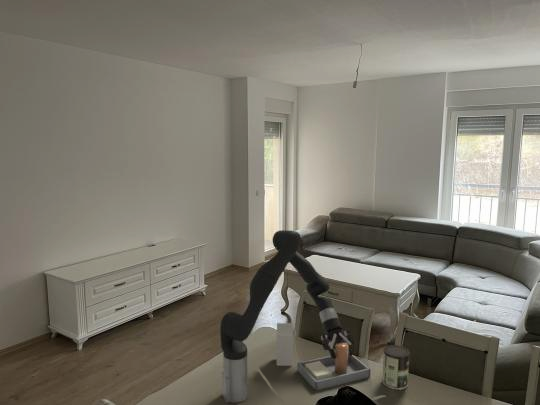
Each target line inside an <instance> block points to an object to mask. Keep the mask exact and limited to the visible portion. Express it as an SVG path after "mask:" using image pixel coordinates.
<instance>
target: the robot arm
mask: <svg viewBox="0 0 540 405" xmlns="http://www.w3.org/2000/svg"><path fill="white" fill-rule="evenodd" d="M301 243H302V237H301V234H300V233H299V232H298V231H295V230H289V229H288V230H283V229H282V230H278V231H276V232H275V233H274V234H273V236H272V245H273V247H274V248H275V249H276V251H277V253H276V254H275V255H274V256H273V257H271V258H270V259H268V261H266V262H265V263H263V264H262V265H261V266H260V267H259V268H258V269H257V271H256V272H255V274H254V276H253V278H252V279H251V281H250V284H249V302H248V304H247V307H246V310H245V311H244V313H243V314H240V313H238V312H234V311H229V312H228V311H227V312H226V313H225V314H224V315H223V317H222V318H221V322H220V328H219V329H220V331H219V332H220V335H219V336H220V347H221V350H222V352H223V353H222V354H223V357H222V360H223V362H222V364H223V366H222V368H223V371H222V372H221V395H222V397H223V399H224V401H225V402H226V403H231V404H234V403H235V404H236V403H241V402H243V401H245V400H247V398H248V347H247V345H246V344H245V343H244V341H246V340H247V339H248V338H249V336H250V335H251V333H252V331H253V329H254V327H255V325H256V323H257V320H258V318H259V316H260V314H261V311H262V309H263V307H264V306H265V304H266V302H267V300H268V298H269V297H270V295H271V293H272V292H273V290H274V288H275V286H276V285H277V283H278V281H279V280H280V277H281V276H282V274H283V272H284V270H286V267H287V266H288V264H289V263H290V264H291V266H293V268H294V269H295V271H297V273H298V275H300V277H301V278H302V280H303V281H304V283H306V292H307V293H308V295H309V296H310V297H311V299H312V300H313V301H314V304H315V305H316V306H315V307H316V308H317V310H318V313H319V314H318V315H319V317H320V321H321V325H322V327H323V330H324V332H325V334H322V335H321V336H320V341H321V344H322V347H323V351H328V352H329V356H331V358H333V359H335V358H336V355H335V348H334V345H336V343H338V342H344V343H347V344H348V345H349V348H348V352H349V354H350V356H351V355H354V353H355V351H354V349H353V344H354V343H355V340H354V337H353V335H352V333H351V331H350V329H347V330H345V331H344V330H343V329H342V328H343V327H342V324H341V322H340V319H339V316H338V314H337V311H336V310H335V308H334V304H333V302H332V299H331V298H330V296H329V297H328V296H322V297H319V296H320V295H322V294H325V293H327V292H328V291H330V283H329V281H328V280H327V279H326V278H325V277H324V276H323V275H321V274H320V273H319V272H318V271H317V270H316V269H315V268H314V266H313V264H312V263H311V262H310V261H309V260H308V259H307V258H305V257H304V256H303V255H301V253H299V252H298V250H299V248H300V246H301ZM327 340H329V342H328V341H327Z"/></svg>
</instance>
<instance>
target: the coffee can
mask: <svg viewBox="0 0 540 405" xmlns="http://www.w3.org/2000/svg"><path fill="white" fill-rule="evenodd" d="M410 354H411V353H410V350H409V349H408V348H406V347H404V346H402V345H396V344H389V345H386V346H384V347H383V356H382V357H383V362H382V384H383V385H384V386H386V387H387V388H389V389H392V390H405V389H407V387H408V386H409V382H408V381H409V367H410V365H409V364H410Z"/></svg>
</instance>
